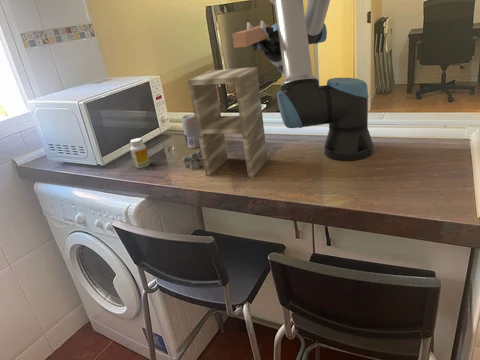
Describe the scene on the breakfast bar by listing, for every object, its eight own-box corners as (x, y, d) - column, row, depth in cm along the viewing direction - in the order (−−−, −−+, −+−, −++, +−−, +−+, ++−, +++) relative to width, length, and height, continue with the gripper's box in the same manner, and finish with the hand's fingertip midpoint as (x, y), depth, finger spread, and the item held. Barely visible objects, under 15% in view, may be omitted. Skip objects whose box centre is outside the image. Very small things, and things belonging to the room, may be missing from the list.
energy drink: (193, 143, 152) (187, 114, 147) (203, 144, 149) (198, 114, 144) (184, 148, 148) (178, 118, 143) (194, 149, 145) (188, 119, 140)
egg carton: (193, 171, 126) (190, 160, 124) (181, 166, 132) (178, 155, 130) (218, 160, 132) (216, 149, 130) (206, 156, 137) (204, 145, 135)
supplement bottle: (153, 162, 138) (146, 137, 134) (143, 168, 134) (137, 142, 130) (141, 161, 141) (134, 137, 137) (132, 167, 136) (124, 142, 132)
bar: (271, 36, 133) (269, 24, 131) (246, 46, 113) (244, 32, 111) (260, 37, 134) (259, 25, 133) (234, 47, 115) (232, 33, 113)
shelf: (267, 159, 126) (256, 67, 113) (252, 177, 115) (239, 77, 102) (223, 158, 132) (209, 70, 120) (205, 175, 121) (187, 80, 108)
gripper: (297, 60, 141) (279, 34, 120) (254, 64, 148) (230, 39, 127) (299, 40, 142) (280, 10, 120) (256, 45, 149) (231, 17, 127)
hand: (254, 25), depth 124 cm, fingers closed on bar, 4 cm apart
